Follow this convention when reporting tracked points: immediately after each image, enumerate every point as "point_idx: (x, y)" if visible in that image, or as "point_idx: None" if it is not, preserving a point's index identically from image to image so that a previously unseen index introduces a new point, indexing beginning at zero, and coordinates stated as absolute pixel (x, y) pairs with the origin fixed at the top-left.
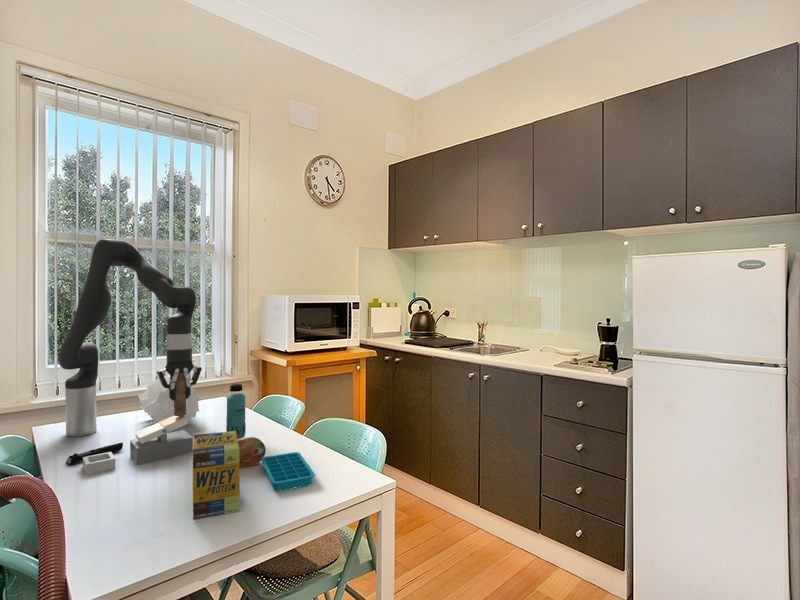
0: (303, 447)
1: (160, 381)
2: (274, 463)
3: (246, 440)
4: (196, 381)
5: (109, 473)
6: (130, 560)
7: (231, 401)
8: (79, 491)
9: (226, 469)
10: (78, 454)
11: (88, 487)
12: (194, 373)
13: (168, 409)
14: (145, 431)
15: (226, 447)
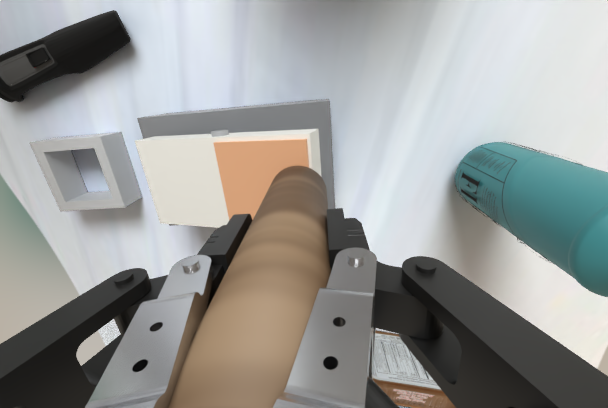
0: (577, 322)
1: (46, 322)
2: None
3: (426, 404)
4: (444, 344)
5: (134, 221)
6: None
7: (570, 274)
8: (97, 282)
9: None
10: (1, 67)
11: (108, 273)
12: (499, 396)
13: None
14: (172, 182)
15: None
